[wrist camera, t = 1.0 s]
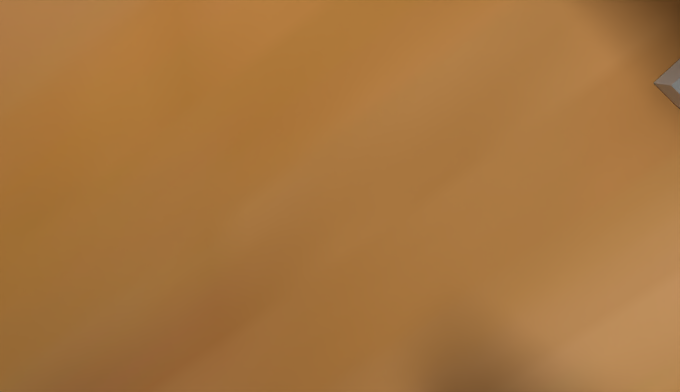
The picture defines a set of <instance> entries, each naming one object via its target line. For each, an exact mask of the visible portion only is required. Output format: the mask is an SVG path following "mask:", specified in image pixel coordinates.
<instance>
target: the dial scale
mask: <svg viewBox="0 0 680 392" xmlns="http://www.w3.org/2000/svg"><path fill="white" fill-rule="evenodd" d="M654 84H655V85H656V86H657V87H658V88H659V89H660V90H661V91H662V92H663V93H664V94H665V95H666V96H667V97H668V98H669V99H670V100H671V101H672V102H673V103H674V104H675V105H676V106H677V107H678V108H679V109H680V59H679V60H678V61H677V62H676V63H675V64H673V65H672V66H671V67H670V68H669V69H668V70H667V71H666V72H665V73H664V74H663V75H661V76H660V77H659V78H658V79H657V80H656V81H655V82H654Z"/></svg>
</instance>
